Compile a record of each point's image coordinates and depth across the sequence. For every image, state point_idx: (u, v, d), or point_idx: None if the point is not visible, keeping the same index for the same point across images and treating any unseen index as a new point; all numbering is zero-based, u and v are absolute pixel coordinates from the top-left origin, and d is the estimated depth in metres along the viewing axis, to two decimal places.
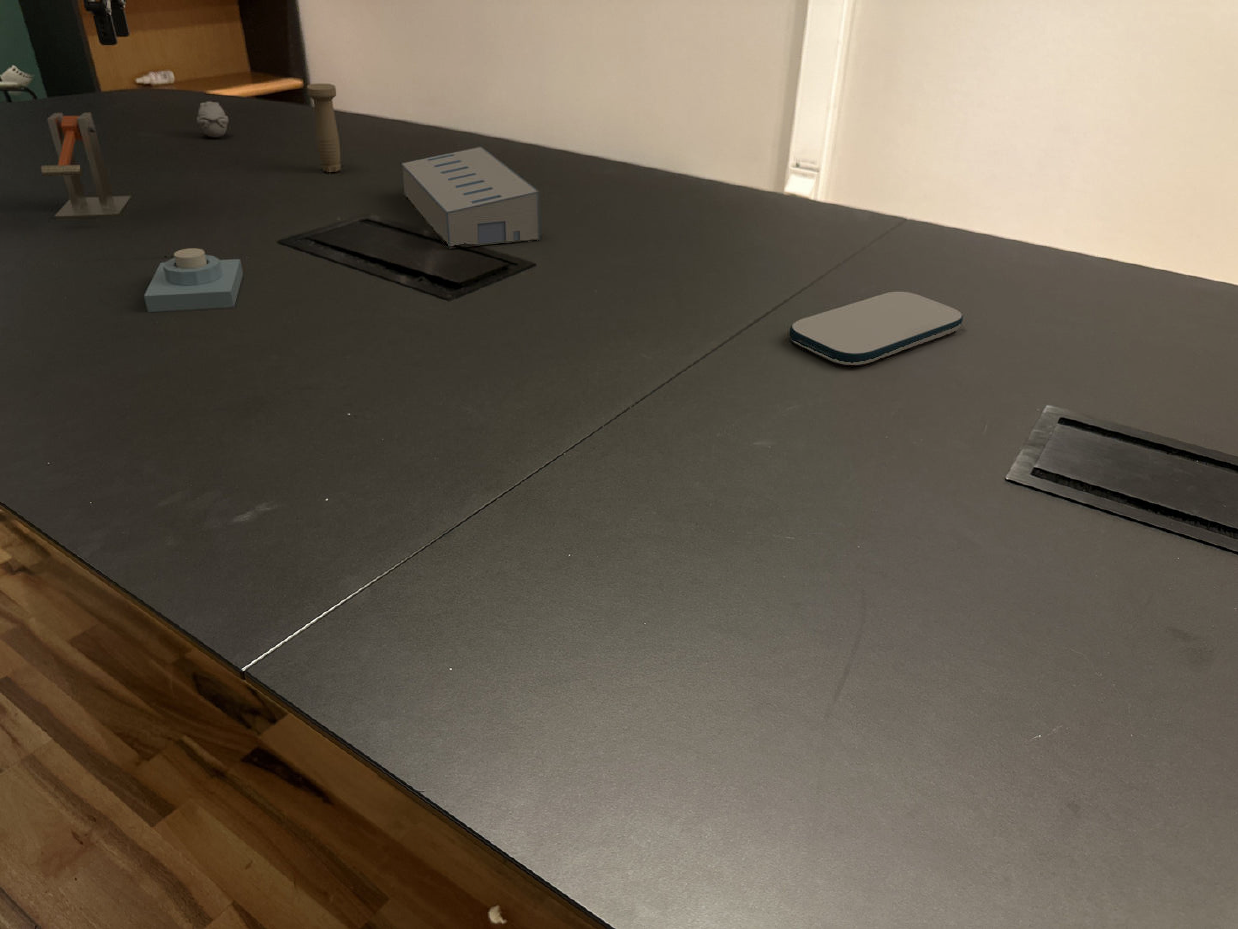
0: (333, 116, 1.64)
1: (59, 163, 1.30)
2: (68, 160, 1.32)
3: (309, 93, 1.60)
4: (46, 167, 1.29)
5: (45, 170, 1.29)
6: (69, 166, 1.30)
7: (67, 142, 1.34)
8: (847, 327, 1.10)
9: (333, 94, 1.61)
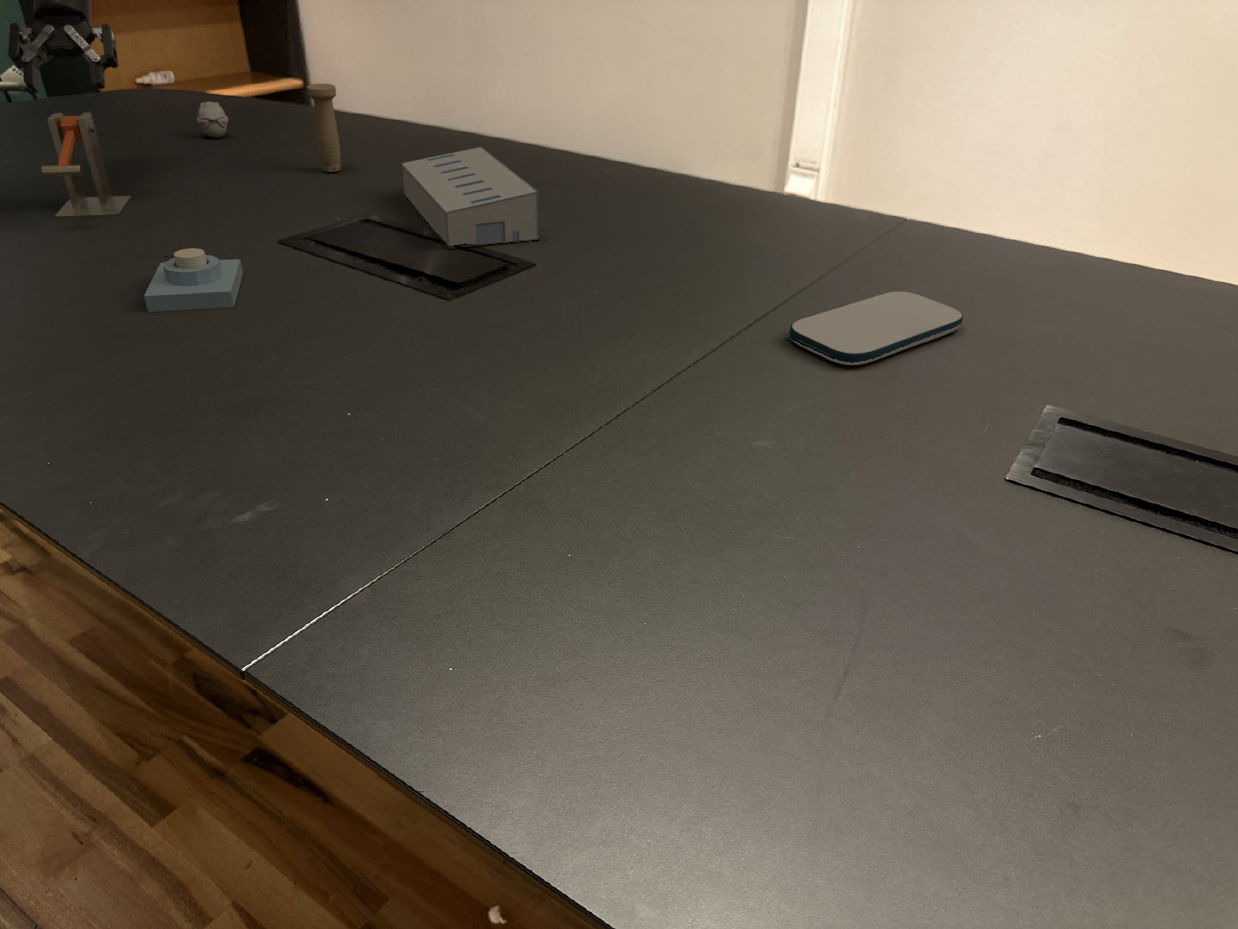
0: (333, 116, 1.64)
1: (59, 163, 1.30)
2: (68, 160, 1.32)
3: (309, 93, 1.60)
4: (46, 167, 1.29)
5: (45, 170, 1.29)
6: (69, 166, 1.30)
7: (67, 142, 1.34)
8: (847, 327, 1.10)
9: (333, 94, 1.61)
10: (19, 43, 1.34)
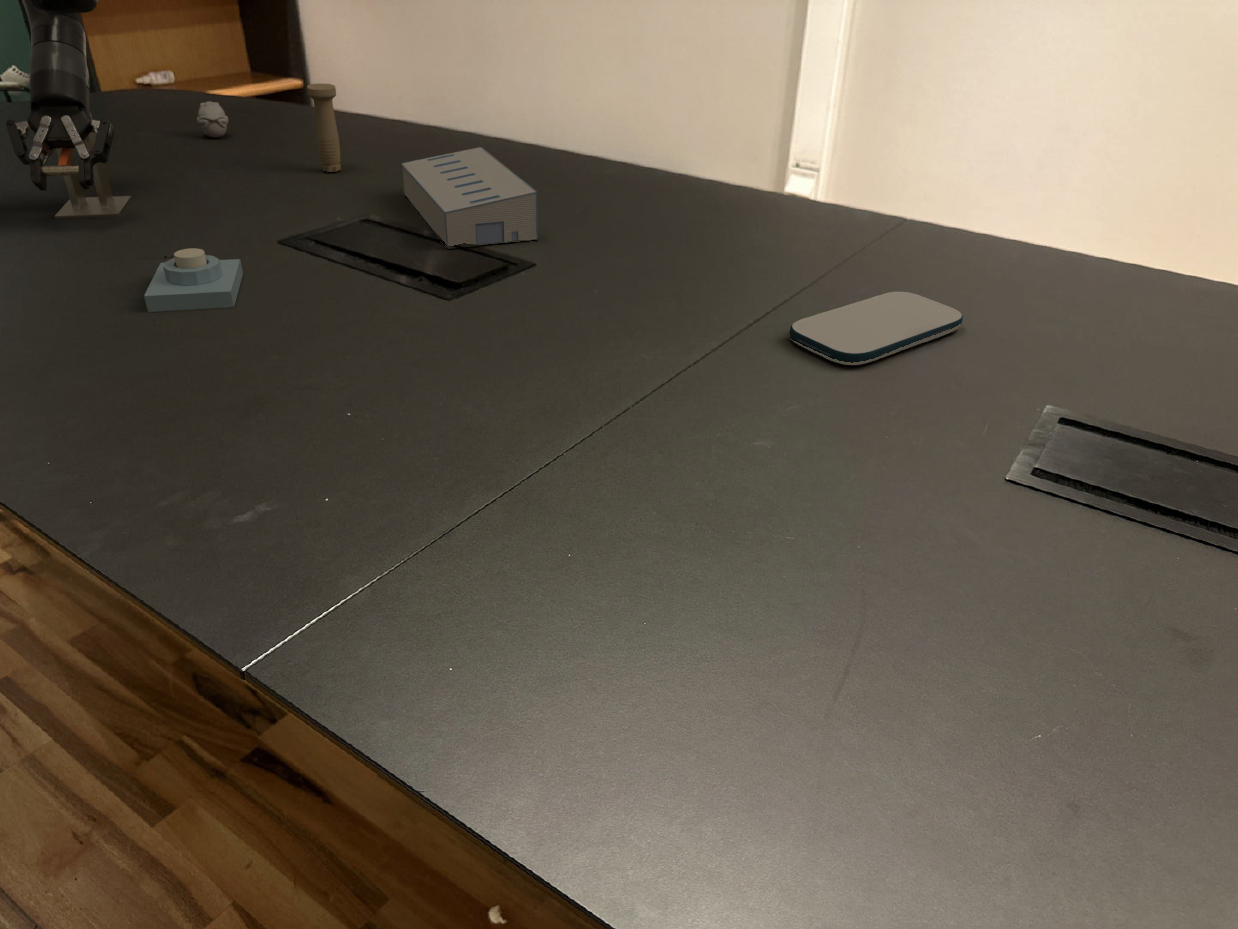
0: (333, 116, 1.64)
1: (59, 163, 1.30)
2: (68, 160, 1.32)
3: (309, 93, 1.60)
4: (46, 167, 1.29)
5: (45, 170, 1.29)
6: (69, 166, 1.30)
7: None
8: (847, 327, 1.10)
9: (333, 94, 1.61)
10: (21, 139, 1.30)
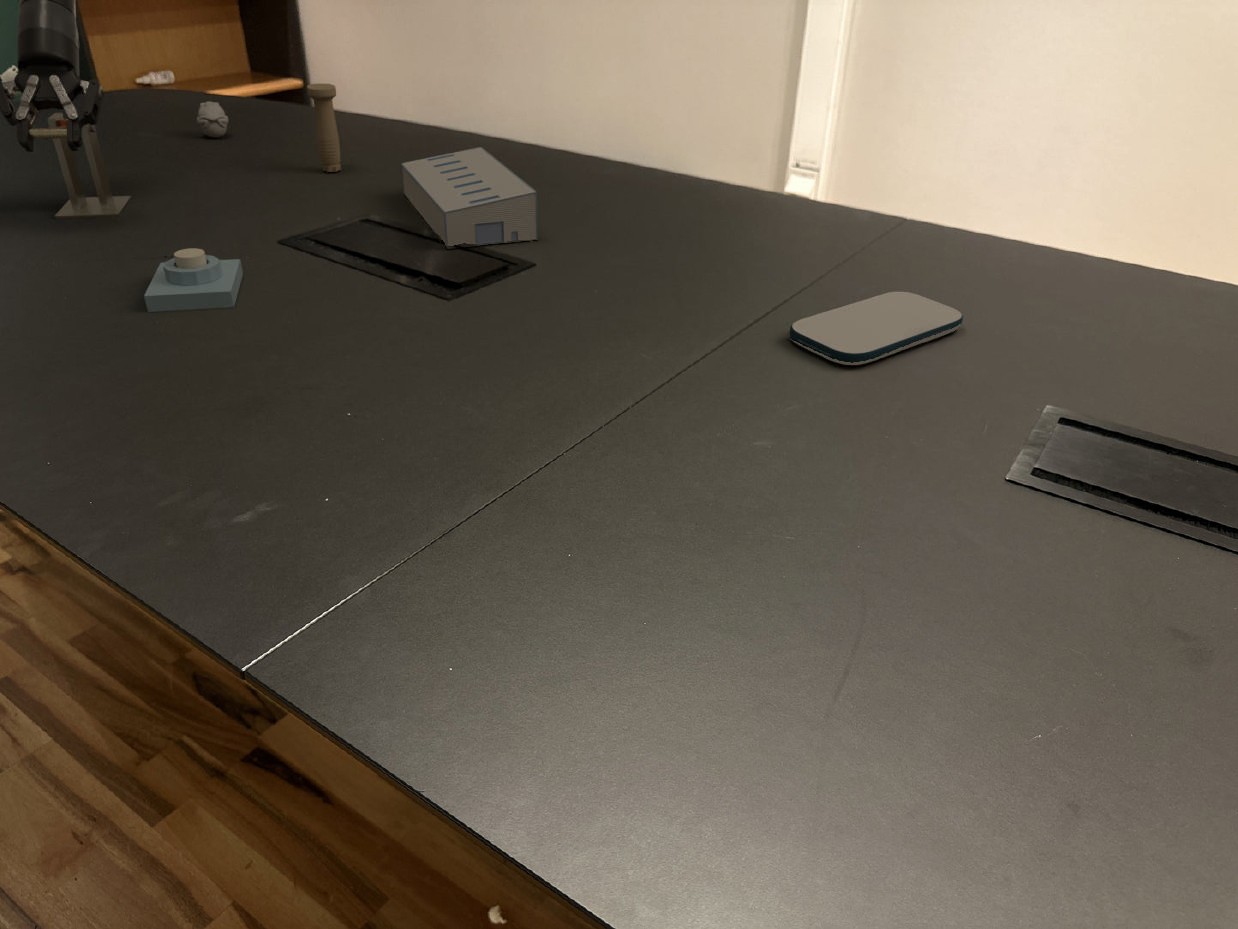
0: (333, 116, 1.64)
1: None
2: None
3: (309, 93, 1.60)
4: (34, 128, 1.26)
5: (32, 130, 1.26)
6: (58, 128, 1.27)
7: (63, 126, 1.32)
8: (847, 327, 1.10)
9: (333, 94, 1.61)
10: (8, 99, 1.26)
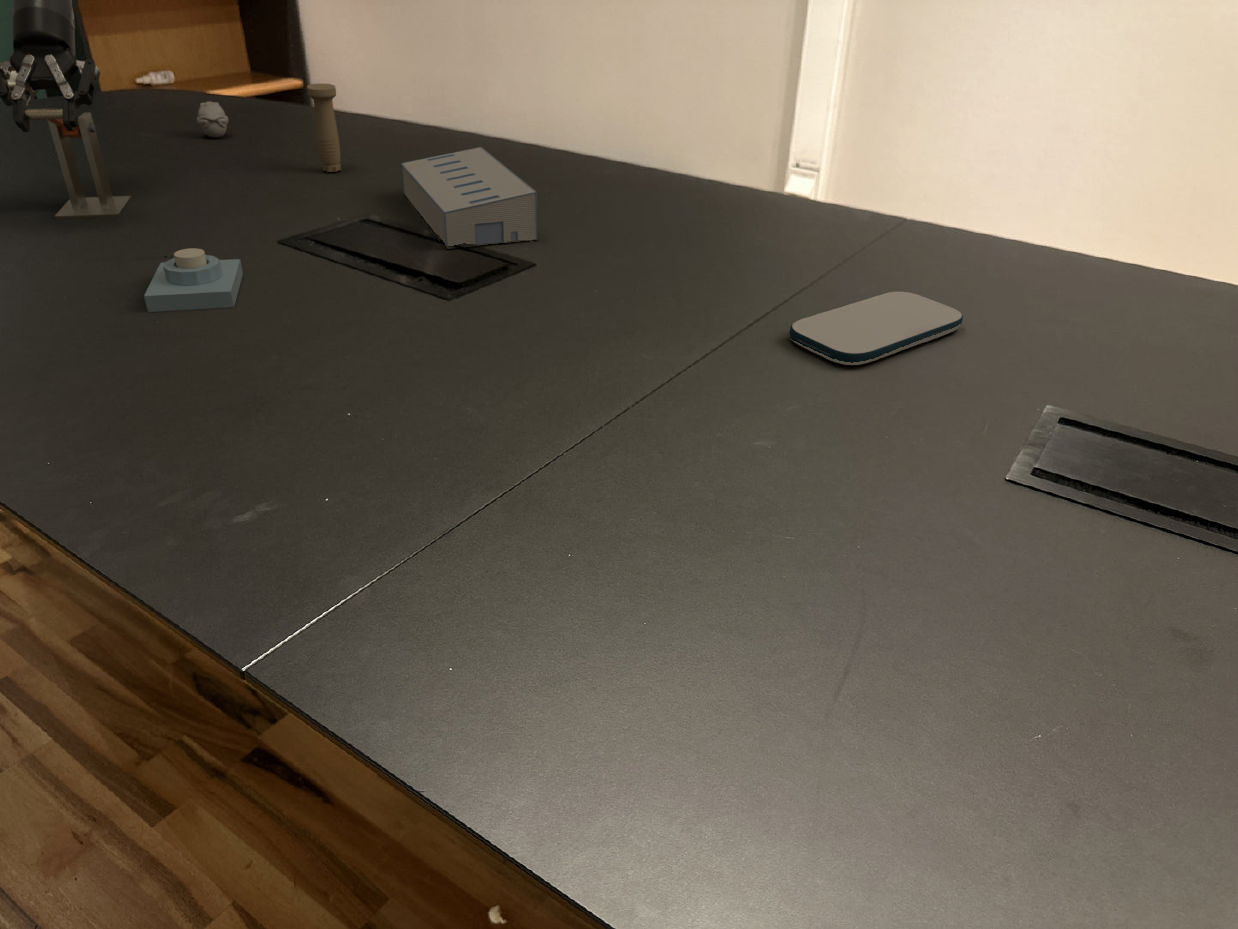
0: (333, 116, 1.64)
1: None
2: None
3: (309, 93, 1.60)
4: None
5: (28, 110, 1.25)
6: (54, 108, 1.26)
7: None
8: (847, 327, 1.10)
9: (333, 94, 1.61)
10: (3, 79, 1.25)
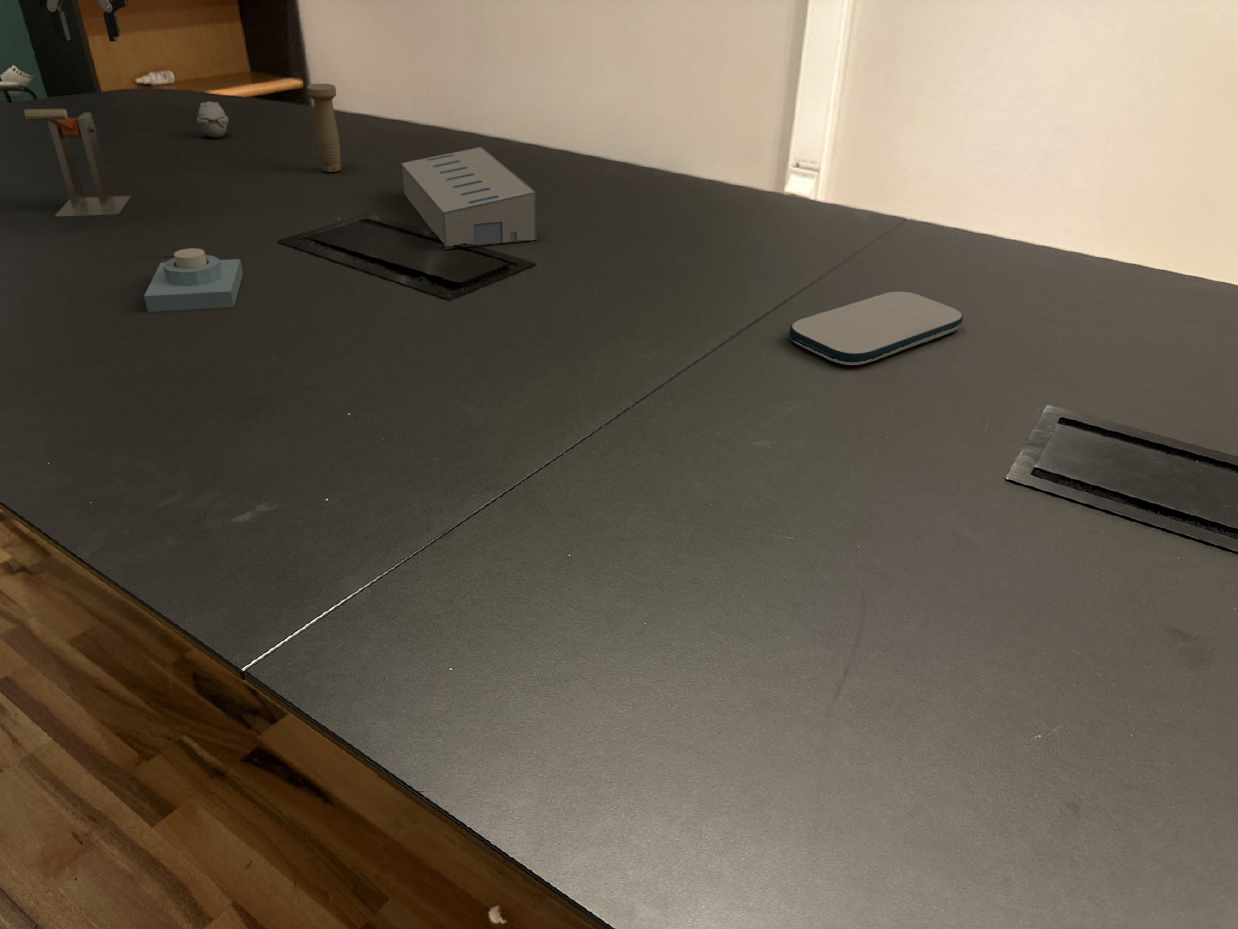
0: (333, 116, 1.64)
1: None
2: None
3: (309, 93, 1.60)
4: (30, 109, 1.25)
5: (28, 110, 1.25)
6: (54, 109, 1.26)
7: None
8: (847, 327, 1.10)
9: (333, 94, 1.61)
10: None
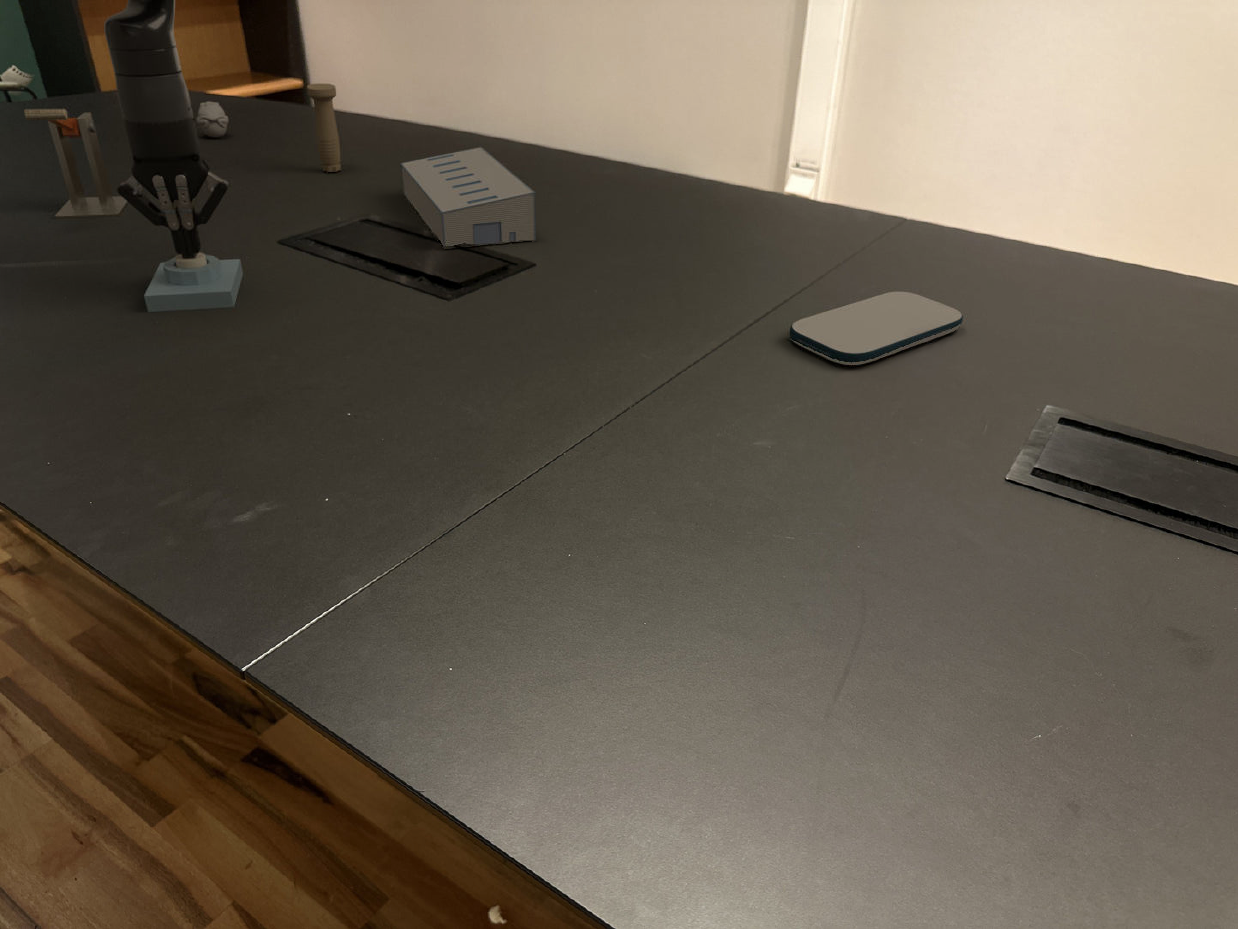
0: (333, 116, 1.64)
1: None
2: None
3: (309, 93, 1.60)
4: (30, 109, 1.25)
5: (28, 110, 1.25)
6: (54, 109, 1.26)
7: None
8: (847, 327, 1.10)
9: (333, 94, 1.61)
10: (145, 202, 1.09)
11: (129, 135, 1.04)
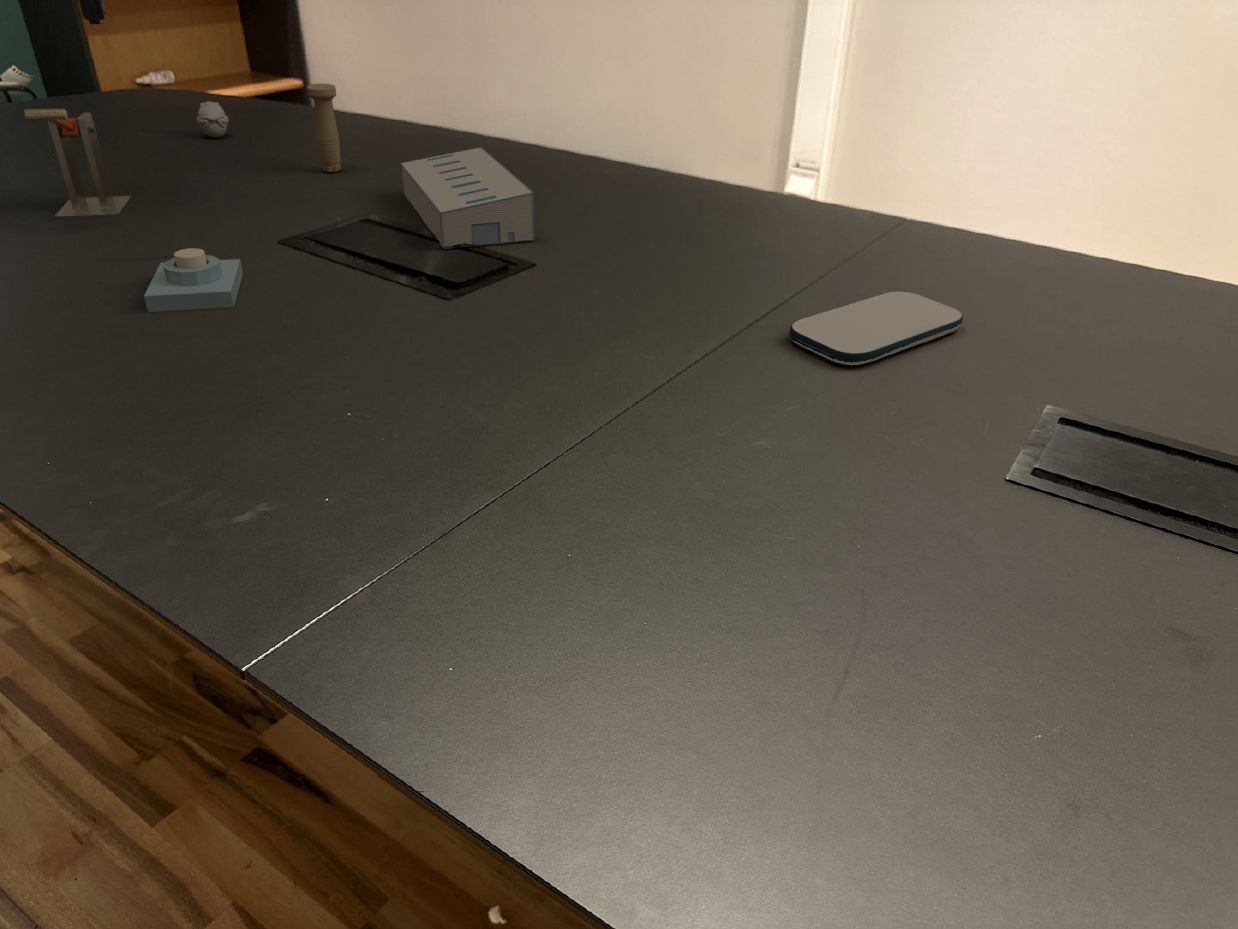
0: (333, 116, 1.64)
1: None
2: None
3: (309, 93, 1.60)
4: (30, 109, 1.25)
5: (28, 110, 1.25)
6: (54, 109, 1.26)
7: None
8: (847, 327, 1.10)
9: (333, 94, 1.61)
10: None
11: None
